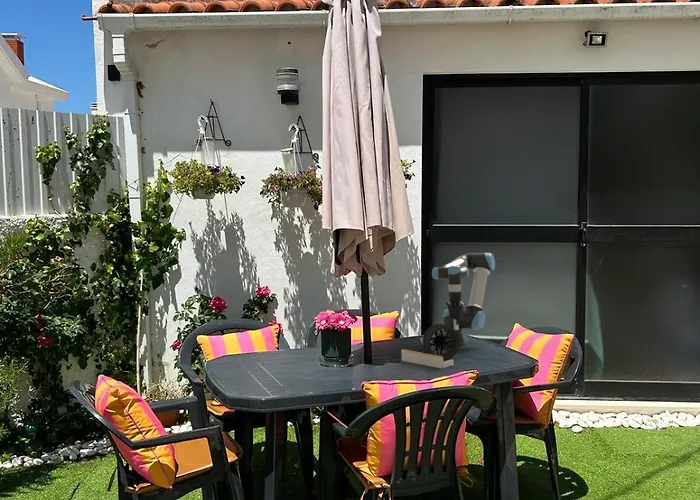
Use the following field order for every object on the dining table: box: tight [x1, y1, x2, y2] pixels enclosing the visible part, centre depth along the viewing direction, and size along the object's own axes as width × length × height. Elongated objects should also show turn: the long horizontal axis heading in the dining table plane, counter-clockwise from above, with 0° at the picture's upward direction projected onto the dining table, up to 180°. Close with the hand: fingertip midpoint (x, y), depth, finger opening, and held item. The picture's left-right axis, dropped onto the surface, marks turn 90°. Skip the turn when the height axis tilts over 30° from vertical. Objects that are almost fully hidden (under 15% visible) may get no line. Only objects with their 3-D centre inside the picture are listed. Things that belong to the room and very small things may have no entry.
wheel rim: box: [422, 323, 461, 361], centre depth 382 cm, size 20×9×20 cm, turn 104°
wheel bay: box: [400, 349, 455, 369], centre depth 374 cm, size 10×31×7 cm, turn 41°
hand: (456, 329), depth 391 cm, fingers closed
